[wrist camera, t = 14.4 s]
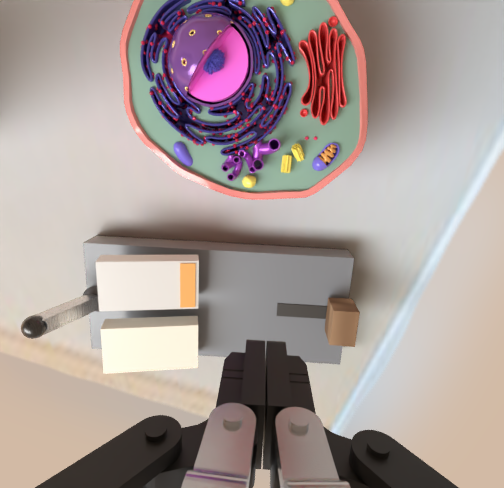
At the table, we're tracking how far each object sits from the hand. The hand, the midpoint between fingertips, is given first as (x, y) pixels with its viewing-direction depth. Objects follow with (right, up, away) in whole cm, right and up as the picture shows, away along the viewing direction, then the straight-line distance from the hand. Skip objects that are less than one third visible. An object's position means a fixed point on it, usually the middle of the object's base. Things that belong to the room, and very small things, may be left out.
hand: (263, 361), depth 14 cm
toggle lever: (-17, -1, +23) cm, 29 cm away
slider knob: (+8, -3, +23) cm, 25 cm away
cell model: (-1, +18, +21) cm, 28 cm away
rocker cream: (-10, -6, +22) cm, 25 cm away
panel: (-4, -1, +26) cm, 27 cm away
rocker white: (-10, +1, +20) cm, 23 cm away
